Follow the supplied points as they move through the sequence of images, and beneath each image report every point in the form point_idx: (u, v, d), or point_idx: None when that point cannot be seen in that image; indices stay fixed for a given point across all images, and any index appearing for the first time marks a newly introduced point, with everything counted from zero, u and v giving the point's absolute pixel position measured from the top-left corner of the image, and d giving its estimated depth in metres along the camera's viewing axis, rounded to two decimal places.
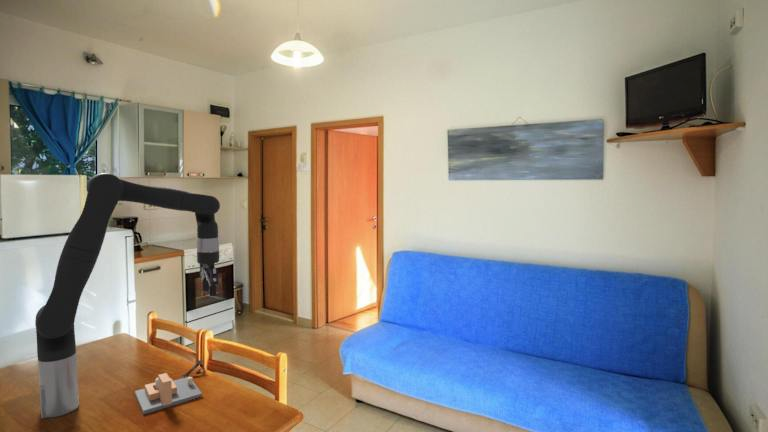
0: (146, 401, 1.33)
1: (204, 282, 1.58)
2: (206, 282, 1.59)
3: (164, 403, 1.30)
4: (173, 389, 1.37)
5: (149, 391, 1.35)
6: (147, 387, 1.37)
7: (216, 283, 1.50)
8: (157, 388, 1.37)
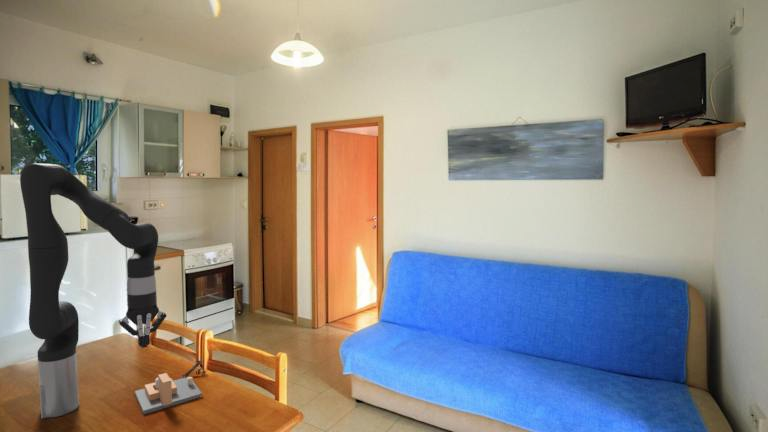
0: (146, 401, 1.33)
1: None
2: None
3: (164, 403, 1.30)
4: (173, 389, 1.37)
5: (149, 391, 1.35)
6: (147, 387, 1.37)
7: None
8: (157, 388, 1.37)
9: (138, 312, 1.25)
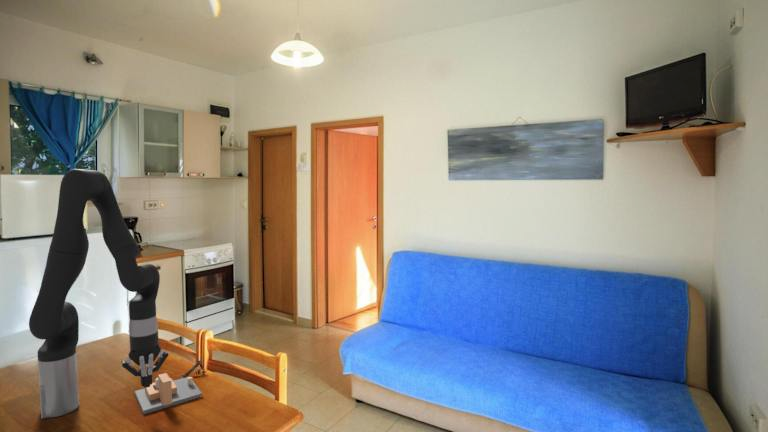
0: (146, 401, 1.33)
1: None
2: None
3: (164, 403, 1.30)
4: (173, 389, 1.37)
5: (149, 391, 1.35)
6: (147, 387, 1.37)
7: None
8: (157, 388, 1.37)
9: (140, 353, 1.26)
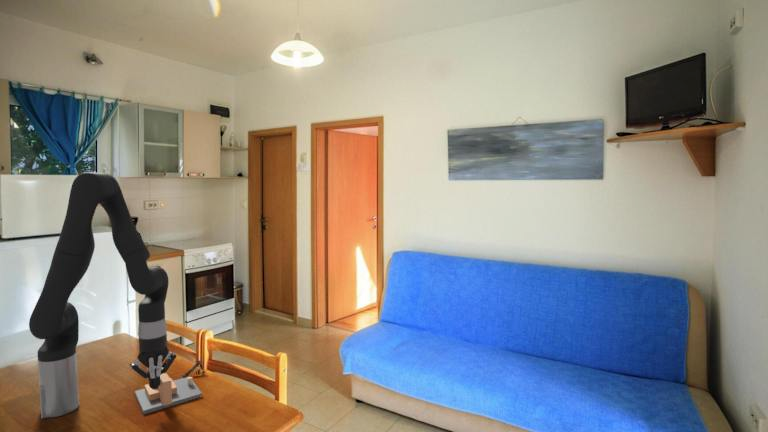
0: (146, 401, 1.33)
1: None
2: None
3: (164, 403, 1.30)
4: (173, 389, 1.37)
5: (149, 391, 1.35)
6: (147, 387, 1.37)
7: None
8: (157, 388, 1.37)
9: (150, 355, 1.27)
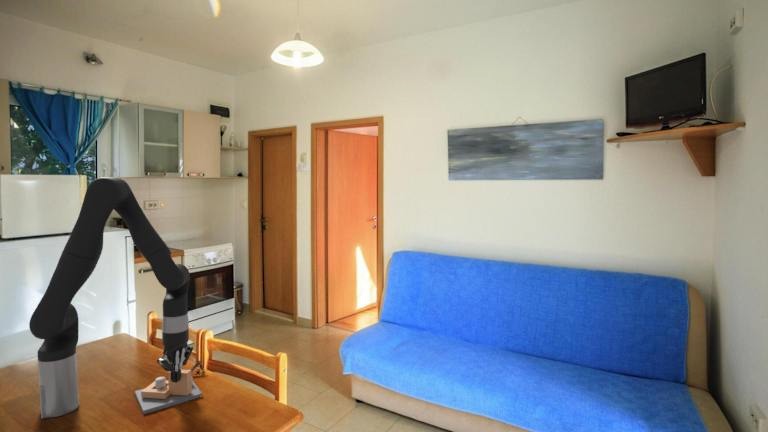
0: (146, 401, 1.33)
1: None
2: None
3: (188, 393, 1.37)
4: None
5: (158, 391, 1.35)
6: (148, 391, 1.35)
7: None
8: (157, 388, 1.37)
9: (175, 349, 1.32)
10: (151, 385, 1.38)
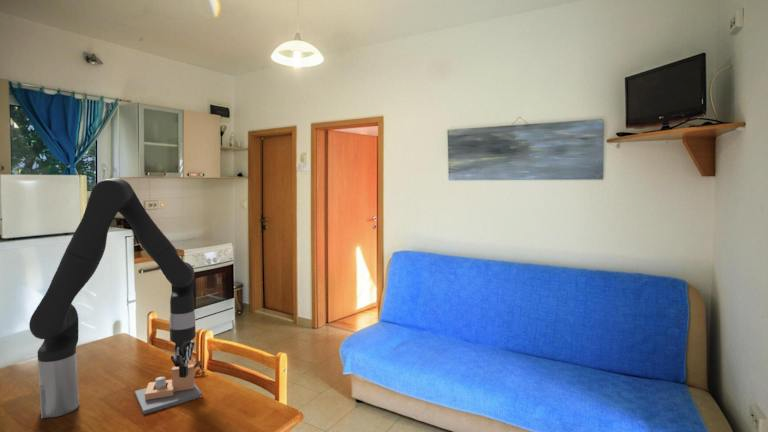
0: (146, 401, 1.33)
1: None
2: None
3: (193, 386, 1.41)
4: None
5: (164, 390, 1.36)
6: (152, 392, 1.34)
7: None
8: (157, 388, 1.37)
9: (184, 344, 1.36)
10: (150, 387, 1.37)
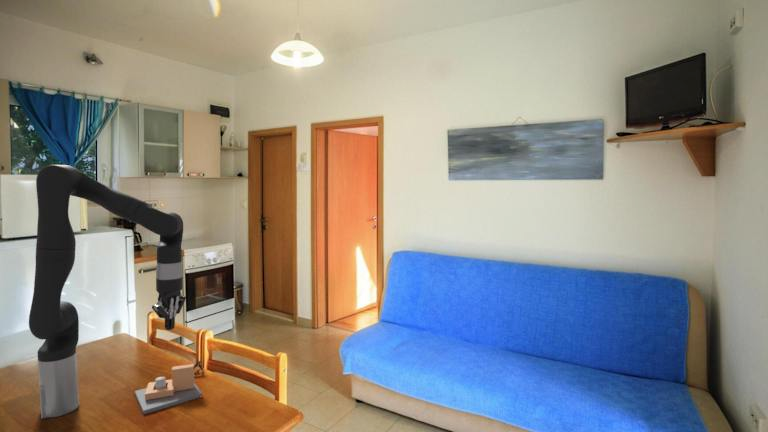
0: (146, 401, 1.33)
1: None
2: None
3: (193, 385, 1.41)
4: None
5: (165, 390, 1.36)
6: (153, 392, 1.34)
7: None
8: (157, 388, 1.37)
9: (169, 296, 1.33)
10: (150, 387, 1.37)
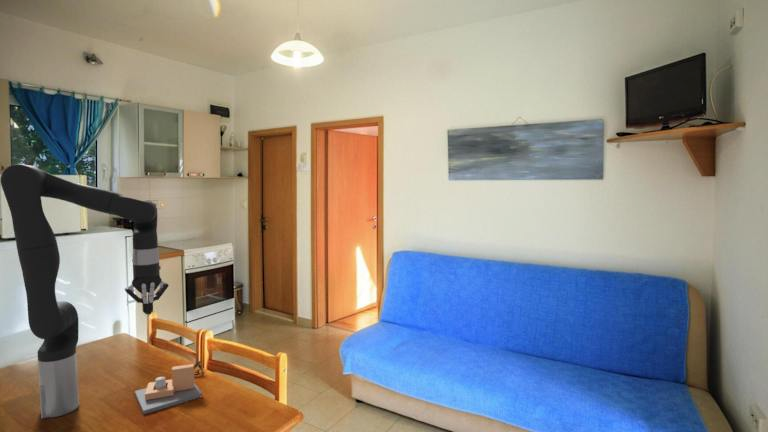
0: (146, 401, 1.33)
1: None
2: None
3: (193, 385, 1.41)
4: None
5: (165, 390, 1.36)
6: (153, 392, 1.34)
7: None
8: (157, 388, 1.37)
9: (143, 281, 1.36)
10: (150, 387, 1.37)
